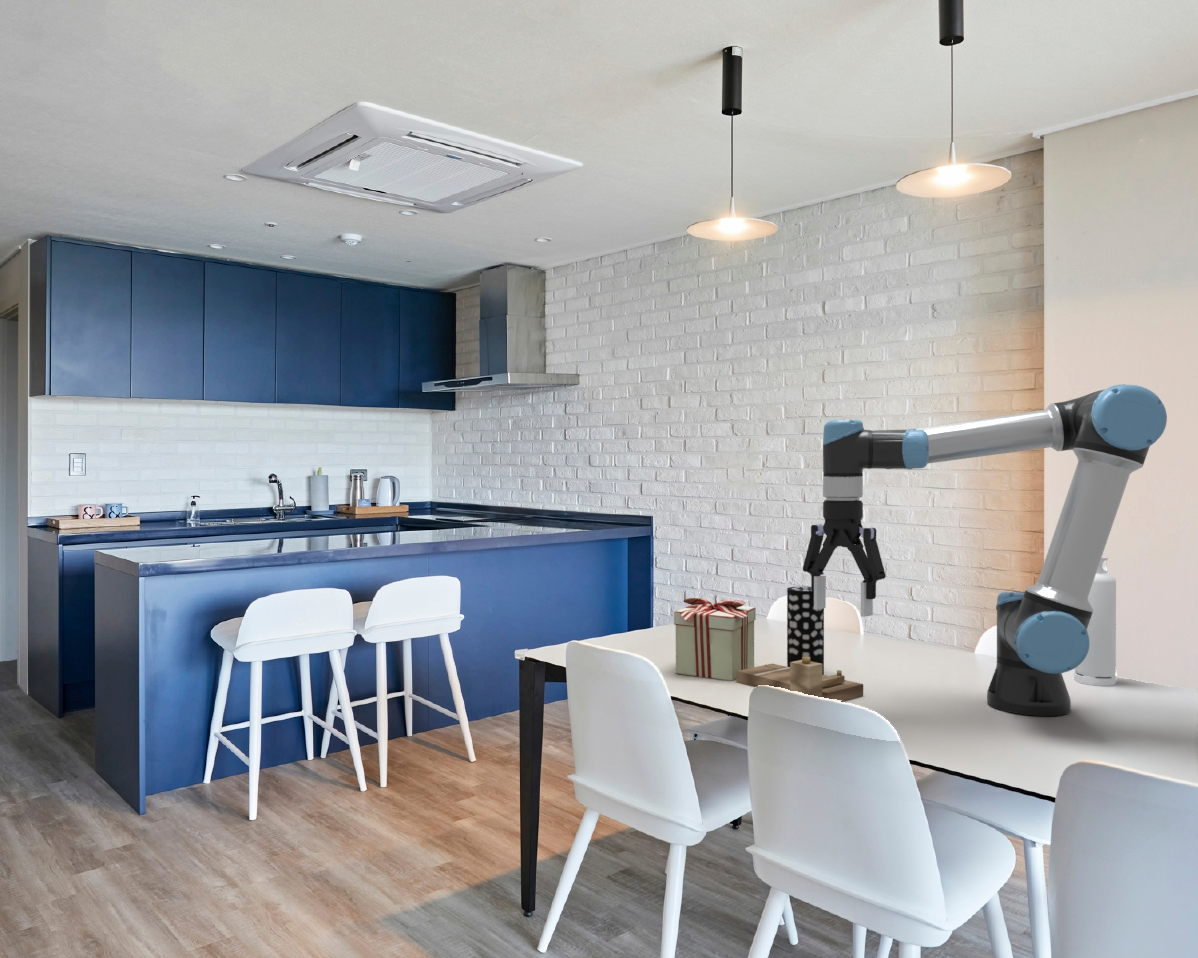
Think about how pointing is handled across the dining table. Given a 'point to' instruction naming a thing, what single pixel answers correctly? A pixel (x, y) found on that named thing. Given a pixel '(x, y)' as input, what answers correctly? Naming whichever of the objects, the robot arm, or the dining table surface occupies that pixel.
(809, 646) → the spotted tube
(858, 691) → the board
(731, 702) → the dining table surface
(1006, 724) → the dining table surface
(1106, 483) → the robot arm
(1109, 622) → the bottle
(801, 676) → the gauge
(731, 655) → the gift box
